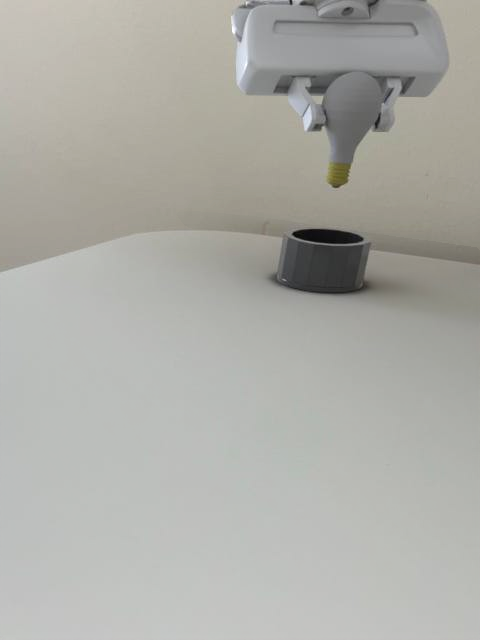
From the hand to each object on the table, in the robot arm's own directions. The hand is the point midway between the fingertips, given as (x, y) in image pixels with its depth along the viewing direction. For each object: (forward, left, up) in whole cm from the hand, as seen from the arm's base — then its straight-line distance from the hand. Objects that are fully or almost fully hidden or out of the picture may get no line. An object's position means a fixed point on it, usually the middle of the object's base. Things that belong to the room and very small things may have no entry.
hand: (350, 127), depth 95 cm
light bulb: (0, -1, -6) cm, 6 cm away
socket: (0, -1, -14) cm, 14 cm away
